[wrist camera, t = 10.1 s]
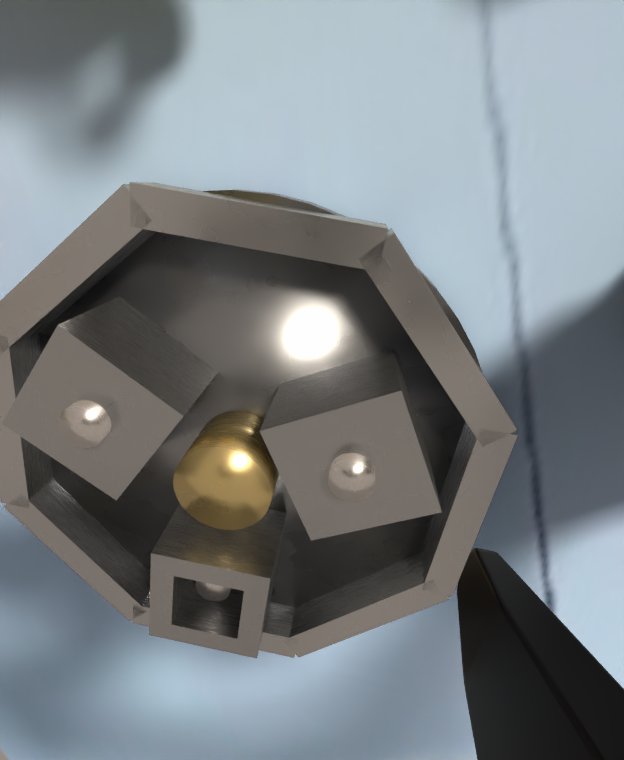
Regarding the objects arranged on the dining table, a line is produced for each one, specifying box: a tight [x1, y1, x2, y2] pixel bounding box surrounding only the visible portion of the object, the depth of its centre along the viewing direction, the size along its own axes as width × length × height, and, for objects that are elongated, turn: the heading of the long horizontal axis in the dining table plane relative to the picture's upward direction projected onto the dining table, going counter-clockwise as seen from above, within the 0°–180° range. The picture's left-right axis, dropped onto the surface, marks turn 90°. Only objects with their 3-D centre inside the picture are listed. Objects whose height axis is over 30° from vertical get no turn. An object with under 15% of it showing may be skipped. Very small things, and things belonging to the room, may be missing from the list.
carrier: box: [0, 182, 518, 658], centre depth 19 cm, size 22×22×6 cm
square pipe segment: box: [149, 504, 286, 658], centre depth 21 cm, size 5×5×4 cm
